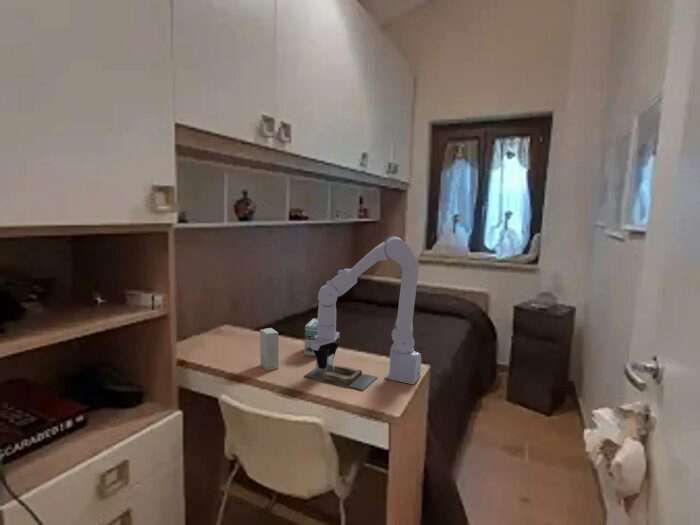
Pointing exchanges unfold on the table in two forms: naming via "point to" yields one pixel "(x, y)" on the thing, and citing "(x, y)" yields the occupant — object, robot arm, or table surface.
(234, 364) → the table surface
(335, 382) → the dock
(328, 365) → the aluminium block
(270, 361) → the skincare box
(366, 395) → the table surface
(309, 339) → the light bulb box
